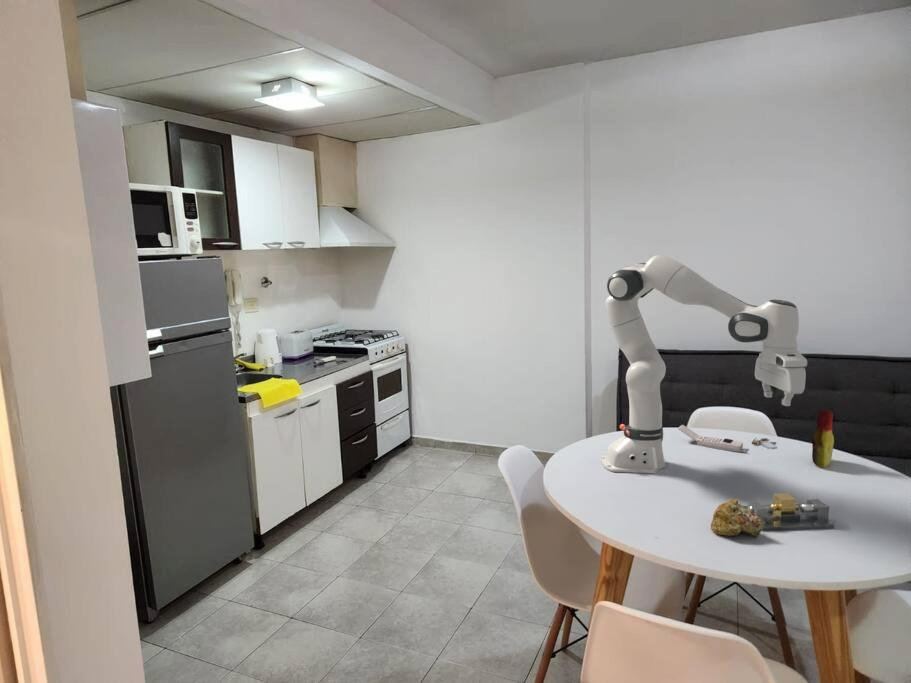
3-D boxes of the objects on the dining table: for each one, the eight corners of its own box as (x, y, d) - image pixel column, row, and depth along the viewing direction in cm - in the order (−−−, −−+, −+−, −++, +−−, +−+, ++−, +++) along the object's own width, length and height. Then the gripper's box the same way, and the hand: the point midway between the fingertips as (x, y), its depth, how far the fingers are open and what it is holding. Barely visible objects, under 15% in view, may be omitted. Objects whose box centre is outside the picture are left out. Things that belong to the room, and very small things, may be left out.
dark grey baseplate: (759, 530, 155) (760, 513, 154) (736, 509, 168) (737, 493, 167) (835, 528, 155) (836, 510, 154) (805, 506, 168) (806, 490, 167)
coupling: (774, 518, 159) (776, 500, 158) (767, 512, 163) (768, 494, 162) (800, 517, 159) (801, 499, 158) (792, 511, 163) (793, 493, 162)
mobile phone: (681, 424, 229) (749, 434, 214) (681, 438, 230) (748, 449, 215) (676, 428, 225) (745, 439, 209) (676, 442, 226) (745, 454, 210)
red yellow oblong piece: (830, 471, 192) (834, 414, 189) (808, 467, 196) (812, 411, 193) (833, 460, 201) (837, 406, 198) (812, 456, 205) (816, 403, 202)
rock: (748, 550, 154) (770, 523, 151) (734, 555, 149) (756, 528, 145) (713, 518, 162) (732, 492, 159) (698, 522, 157) (718, 495, 153)
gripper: (750, 349, 176) (748, 392, 178) (788, 362, 156) (785, 411, 158) (770, 348, 176) (768, 392, 178) (811, 361, 156) (808, 410, 158)
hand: (776, 401), depth 168 cm, fingers open, 8 cm apart
